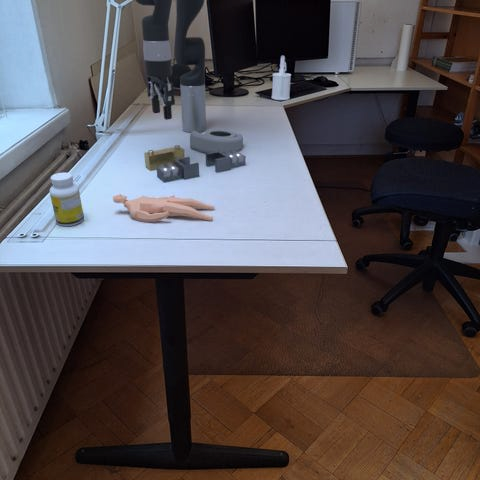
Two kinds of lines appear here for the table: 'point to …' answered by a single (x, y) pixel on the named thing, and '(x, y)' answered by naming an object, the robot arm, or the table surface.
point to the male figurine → (162, 208)
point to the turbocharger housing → (216, 141)
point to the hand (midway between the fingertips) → (162, 115)
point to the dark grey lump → (178, 77)
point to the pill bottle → (66, 200)
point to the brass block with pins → (162, 157)
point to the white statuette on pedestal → (281, 83)
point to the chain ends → (187, 170)
